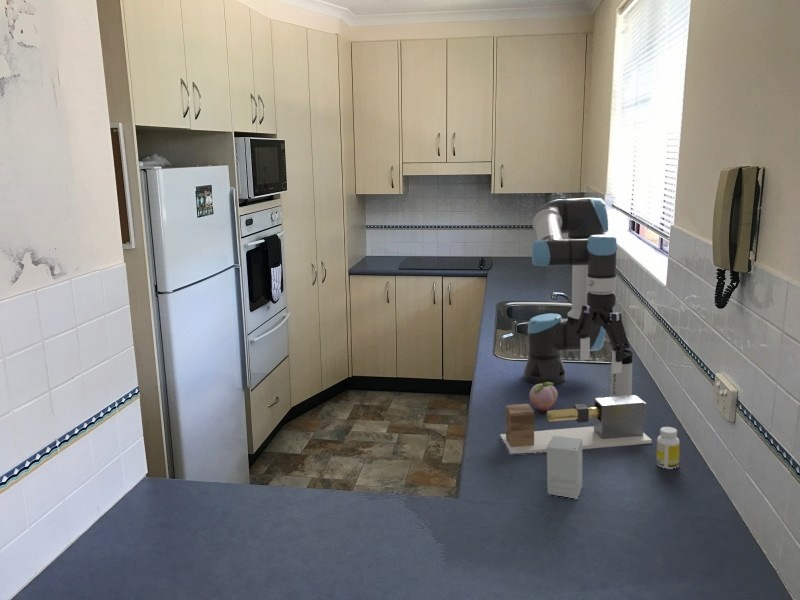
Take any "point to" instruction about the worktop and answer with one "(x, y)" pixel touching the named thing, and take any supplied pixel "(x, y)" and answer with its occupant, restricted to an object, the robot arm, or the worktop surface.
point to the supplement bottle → (668, 448)
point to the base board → (585, 433)
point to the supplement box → (564, 466)
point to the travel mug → (622, 377)
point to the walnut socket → (519, 425)
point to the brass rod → (575, 413)
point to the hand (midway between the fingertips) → (600, 366)
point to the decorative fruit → (543, 395)
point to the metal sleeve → (620, 417)
